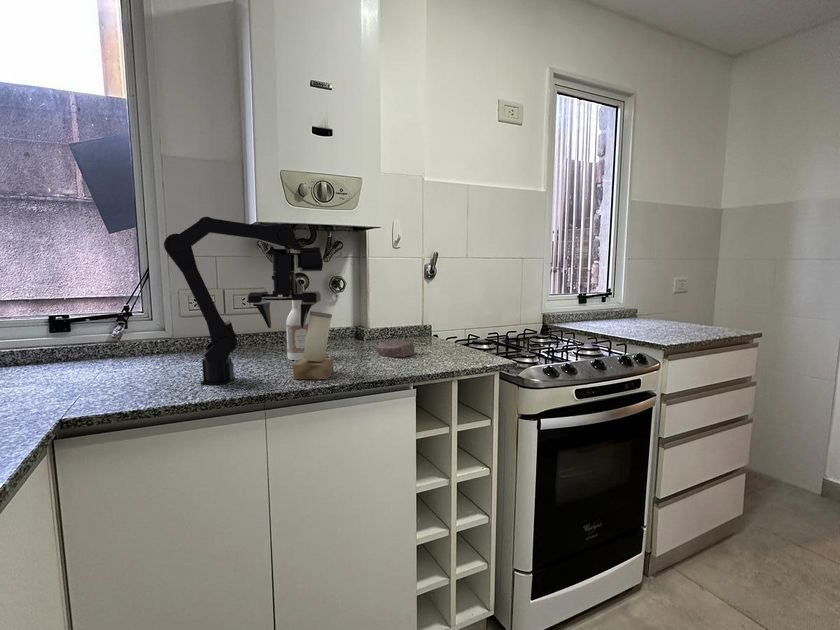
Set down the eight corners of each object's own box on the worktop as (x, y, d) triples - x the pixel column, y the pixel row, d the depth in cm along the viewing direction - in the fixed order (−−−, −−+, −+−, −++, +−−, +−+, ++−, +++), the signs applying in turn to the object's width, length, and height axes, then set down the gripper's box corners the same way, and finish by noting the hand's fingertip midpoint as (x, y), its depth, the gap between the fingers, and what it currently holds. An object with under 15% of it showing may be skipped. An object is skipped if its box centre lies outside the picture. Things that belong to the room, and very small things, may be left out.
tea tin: (298, 358, 119) (306, 311, 118) (309, 356, 125) (316, 311, 124) (318, 362, 117) (326, 314, 117) (328, 360, 123) (335, 314, 123)
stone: (372, 355, 148) (372, 341, 148) (388, 351, 156) (388, 338, 155) (401, 359, 142) (401, 345, 141) (416, 355, 149) (416, 341, 149)
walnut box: (293, 379, 117) (293, 365, 117) (302, 371, 126) (301, 357, 126) (327, 379, 117) (326, 365, 117) (333, 371, 126) (333, 357, 126)
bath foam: (291, 362, 138) (289, 298, 135) (284, 358, 143) (282, 297, 141) (312, 359, 141) (310, 297, 139) (305, 355, 147) (303, 296, 145)
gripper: (324, 271, 128) (325, 323, 130) (260, 271, 128) (262, 323, 130) (315, 272, 117) (317, 329, 119) (245, 272, 117) (248, 329, 119)
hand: (286, 327), depth 122 cm, fingers open, 9 cm apart
